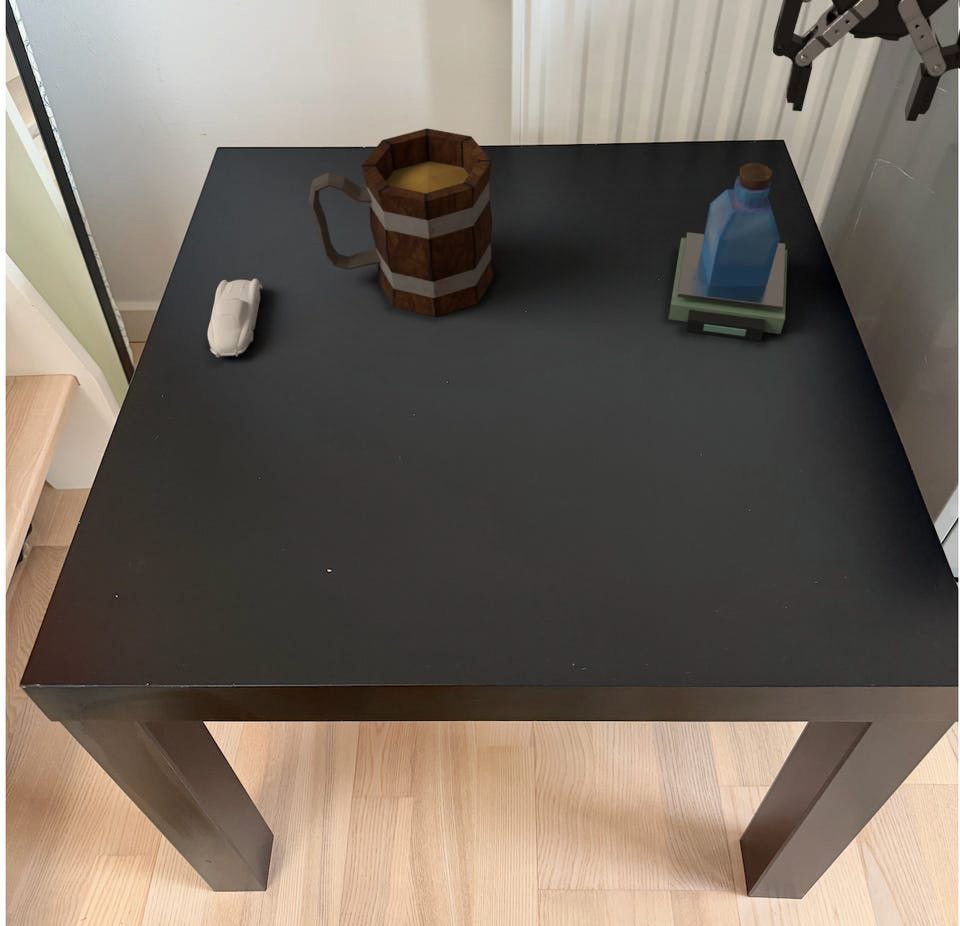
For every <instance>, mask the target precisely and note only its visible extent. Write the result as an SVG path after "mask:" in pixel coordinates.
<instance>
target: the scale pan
mask: <svg viewBox="0 0 960 926" xmlns="http://www.w3.org/2000/svg"><path fill="white" fill-rule="evenodd" d="M704 234H705V233H698V232H688V231H687V232H686V236H685V238H686V241H685V248H684V255H683V262H682V268H681V275H680V282H679V288H678V295H677V297H680V298H687V299H695V300H703V301H711V302H718V303H726V304H734V305H742V306H749V307H757V308H765V309H773V310H780V311H782V308H783V292H784V265H785V250H786V243H784V242H779V243H778V247H777V251H776V254H775V258H774V261H773V265H772V269H771V272H770V276H769V280H768V283H767V286H727V287H709V285H708V280H707V276H706V271H705V267H704V262H703V257H702V253H701V249H702V244H703V239H704Z"/></svg>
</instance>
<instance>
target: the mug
mask: <svg viewBox="0 0 960 926" xmlns="http://www.w3.org/2000/svg"><path fill="white" fill-rule="evenodd" d="M491 168H492V160H491V158H490V157H489V155H488V154H487V153H486V152H485V151H484V149H483V148H482V147H481V146H480V145H479V144H478V142H477V141H476V140H475V139H474V138H473V137H472V136H471V135H466V134H461V133H455V132H449V131H444V130H439V129H433V128H429V127H428V128H424V129H419V130H415V131H411V132H408V133H403V134H400V135H397V136H392V137H389V138H384V139H381V141H380V142H379V143H378V144H377V145H376V147H375V148H374V149H373V150H372V152H371V153H370V154H369V156H368V157H367V158H366V159H365V160H364V162H363V163H362V164H361V171H362V173H363V176H364V181H365V184H366V187H363V186H362V187H361V186H359V185H358V184H356V183H355V182H353V181H352V180H350V179H349V178H348V177H346V176H345V175H342V174H338V173H334V172H327V173H324V174H321V175H319V176H318V177H316V178H314V179H313V180H312V182H311V187H310V192H309V198H308V204H309V207H310V210H311V213H312V215H313V219H314V221H315V225H316V229H317V234H318V239H319V242H320V246H321V249H322V252H323V255H324V256H325V257H326V258H327V260H328V261H329V263H331V265H332V266H333V267H335V268H339V269H343V270H347V271H350V270H354V269H358V268H362V267H366V266H371V265H376V264H377V271H378V272H377V281H378V283H379V284H380V286H381V289H382V290H383V291H384V293H385V295H386V296H387V298H388V300H389V301H390V303H391V305H392V307H393V308H397V309H401V310H405V311H410V312H415V313H416V314H417V313H418V314H421V315H427V316H431V317H435V318H438V317H441V316H443V315H446V314H449V313H452V312H455V311H459V310H462V309H465V308H468V307H472V306H475V305H478V304H479V303H480V301H481V300H482V298H483V296H484V294H485V292H486V290H487V289H488V287H489V286H490V284H491V282H492V280H493V278H494V277H495V272H494V268H493V261H492V232H493V215H492V208H491V200H490V177H491ZM329 187H330V188H332V189H336V190H338V191H341V192H342V193H343V194H344V195H346V196H348V197H349V198H350V199H352V200H353V201H355V202H358V203H368V204H369V226H370V230H371V234H372V238H373V241H374V245H375V249H372V250H366V251H360V252H358V253H355V254H353V255H349V256H348V255H345V254H341V253H338V251H337V250H336V248H335V247H334V245H333V244H332V241H331V235H330V232H329V226H328V222H327V217H326V215H325V212H324V209H323V207H322V204H321V201H320V191H323V190H324V189H326V188H329Z"/></svg>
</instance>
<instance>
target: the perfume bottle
mask: <svg viewBox="0 0 960 926" xmlns="http://www.w3.org/2000/svg"><path fill="white" fill-rule="evenodd" d="M772 176H773V171H772V170H771V169H770V168H769V167H768V166H767V165H765V164H762V163H758V162H757V163H756V162H749V163H746V164H743V165H742V166H740V168H739V175H738V176H737V177H736V179H735V182H734V186H733V189H725V190H724V191H723V192H722V193H721V194H720V195H719V196H717V197H715V199H714V200H712V202H710V203H709V209H708V213H707V219H706V225H705V229H704V233H703V234H704V239H703V244H702V249H701V253H702V257H703V262H704V267H705V271H706V276H707V280H708V285H709V287H727V286H767V283H768V280H769V276H770V272H771V269H772V265H773V261H774V258H775V254H776V251H777V247H778V243H780V239H781V237H780V235H779V231H778V227H777V224H776V223H777V222H776V221H775V220H776V219H775V217H774V213H773V210H772V207H771V203H770V199H769V193H770V189H771V186H772V185H771V180H770V179H771V177H772Z"/></svg>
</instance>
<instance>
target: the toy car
mask: <svg viewBox="0 0 960 926" xmlns="http://www.w3.org/2000/svg"><path fill="white" fill-rule="evenodd" d="M260 290H263V285H262V284H260V281H259V279H258V278H253V279H252V280H248V279H235V280H232V281H228V280H226V279H223V280H221V281H220V283H219V284H218V285H217V288H216V290H215V295H214V303H213V305H212V306H213V307H212V312H211V316H210V321H209V324H208V328H207V340H208V344H209V347H210V348H209V350H210V352H211V353H212V354H213V355H214V356H215V358H220V357H222V358H223V357H231V356H232V357H234V356H235V357H238V356H239V355H240V354H243V353H244V352H245V351H246V350H247V348H248V347H249V345H250V344H251V343H252V342H253V341H254V330H255V328H256V323H257V317H258V311H259V305H260V302H261V291H260Z"/></svg>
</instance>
